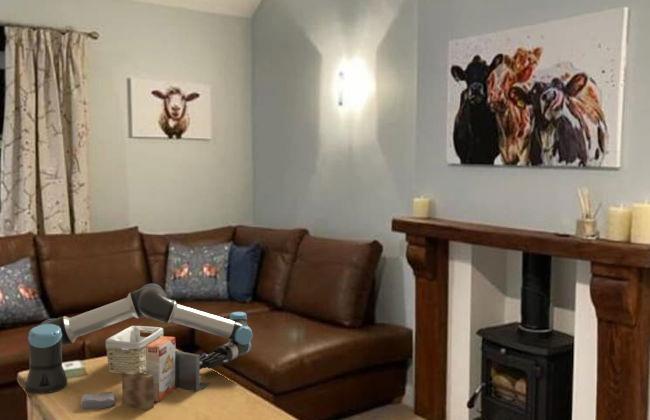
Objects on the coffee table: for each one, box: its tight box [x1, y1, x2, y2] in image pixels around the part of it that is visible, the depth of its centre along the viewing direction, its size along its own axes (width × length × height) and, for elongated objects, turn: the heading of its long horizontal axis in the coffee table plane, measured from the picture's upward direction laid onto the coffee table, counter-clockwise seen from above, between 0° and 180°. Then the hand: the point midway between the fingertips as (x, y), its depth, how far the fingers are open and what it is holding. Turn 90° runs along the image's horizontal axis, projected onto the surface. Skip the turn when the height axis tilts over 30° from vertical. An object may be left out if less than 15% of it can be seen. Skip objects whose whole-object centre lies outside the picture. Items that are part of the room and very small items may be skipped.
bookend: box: [175, 350, 210, 393], centre depth 252 cm, size 14×8×14 cm, turn 64°
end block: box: [121, 370, 155, 411], centre depth 231 cm, size 12×3×12 cm, turn 64°
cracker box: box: [145, 335, 176, 402], centre depth 242 cm, size 14×6×21 cm, turn 168°
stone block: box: [80, 391, 116, 411], centre depth 233 cm, size 12×5×10 cm
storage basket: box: [105, 325, 164, 375], centre depth 274 cm, size 24×16×15 cm
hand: (191, 369), depth 253 cm, fingers closed
